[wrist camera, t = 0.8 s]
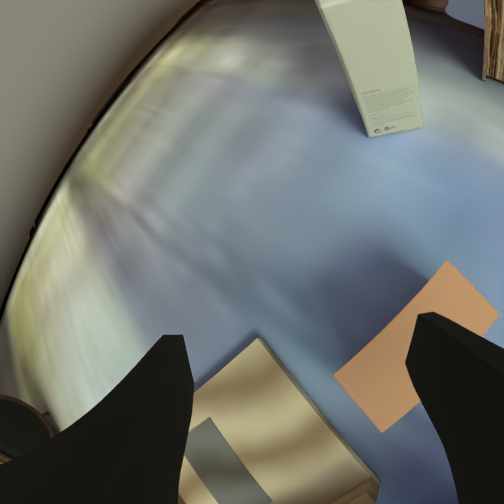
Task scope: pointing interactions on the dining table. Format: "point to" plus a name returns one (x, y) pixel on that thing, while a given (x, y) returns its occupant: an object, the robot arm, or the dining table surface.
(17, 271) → the dining table surface
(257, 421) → the wooden tray
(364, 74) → the skincare box
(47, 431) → the brown backpack
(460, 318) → the block
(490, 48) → the brown upright rectangular box
